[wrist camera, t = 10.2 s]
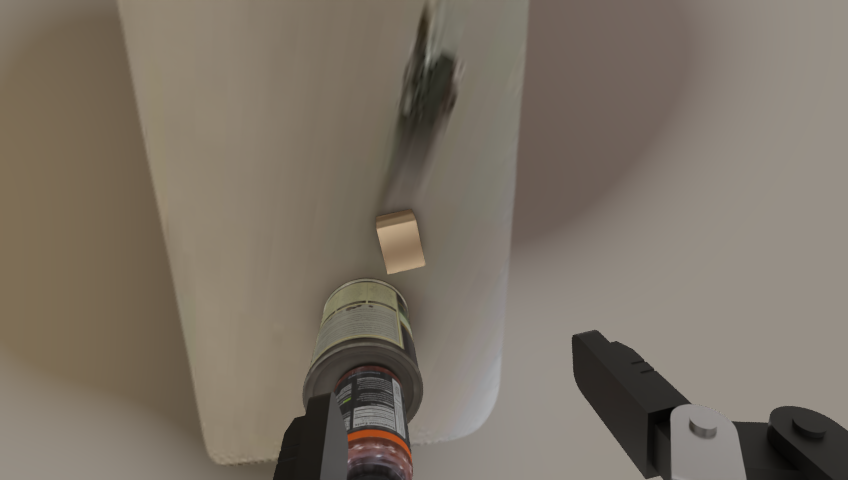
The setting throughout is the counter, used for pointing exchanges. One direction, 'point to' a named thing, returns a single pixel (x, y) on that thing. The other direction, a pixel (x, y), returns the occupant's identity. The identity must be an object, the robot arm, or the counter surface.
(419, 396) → the coffee can
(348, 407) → the supplement bottle
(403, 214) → the tan metallic cube
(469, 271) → the counter surface
